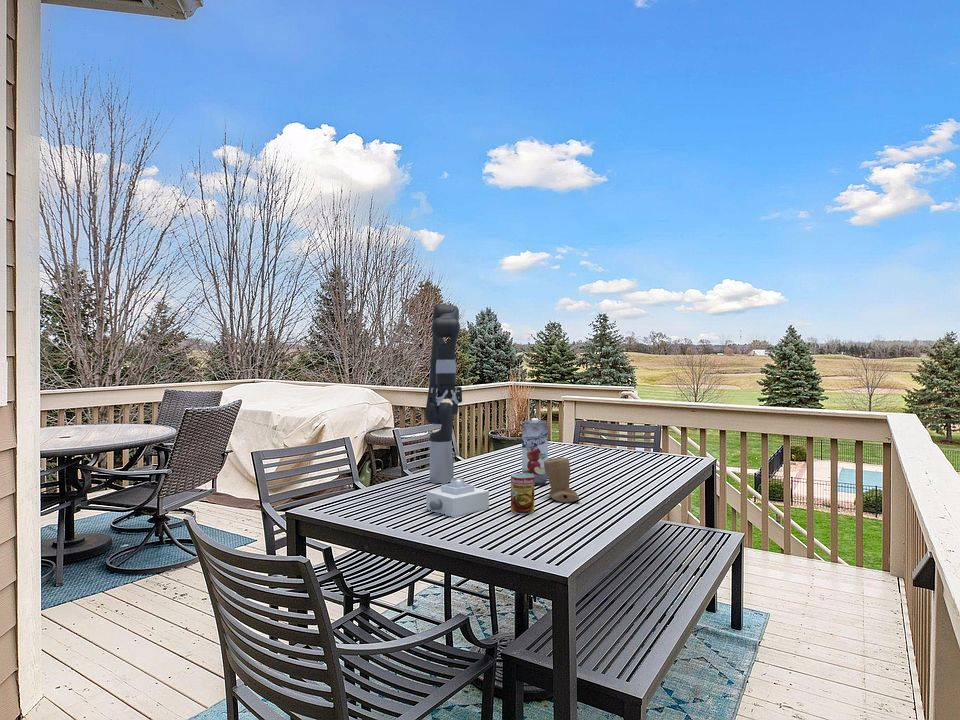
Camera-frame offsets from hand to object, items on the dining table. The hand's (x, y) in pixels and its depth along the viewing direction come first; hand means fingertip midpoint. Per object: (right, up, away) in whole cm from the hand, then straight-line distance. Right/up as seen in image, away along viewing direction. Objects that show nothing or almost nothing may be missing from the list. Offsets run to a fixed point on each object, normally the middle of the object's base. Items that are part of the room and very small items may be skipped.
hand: (445, 415), depth 212 cm
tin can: (+5, -30, -20) cm, 36 cm away
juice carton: (+35, -31, +21) cm, 51 cm away
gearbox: (+4, -30, -21) cm, 37 cm away
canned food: (+27, -30, -23) cm, 46 cm away
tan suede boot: (+42, -30, -5) cm, 52 cm away
